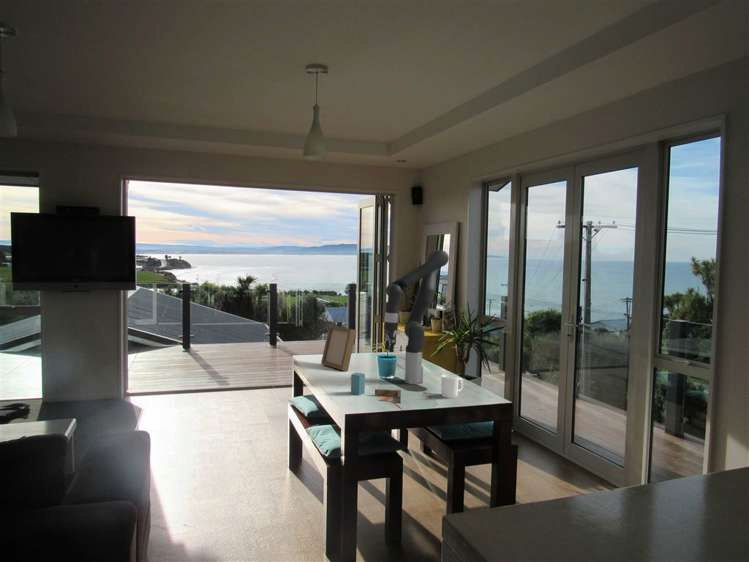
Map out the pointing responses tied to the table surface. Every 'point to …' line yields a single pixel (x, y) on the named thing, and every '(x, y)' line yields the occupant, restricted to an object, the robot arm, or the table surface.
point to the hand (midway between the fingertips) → (389, 350)
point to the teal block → (357, 383)
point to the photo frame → (338, 347)
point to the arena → (388, 394)
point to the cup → (450, 386)
